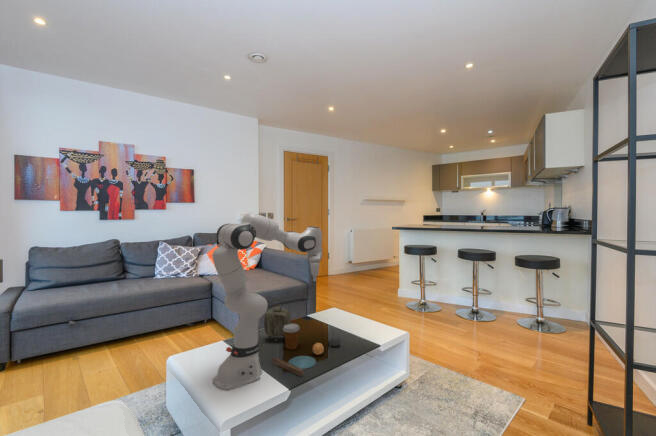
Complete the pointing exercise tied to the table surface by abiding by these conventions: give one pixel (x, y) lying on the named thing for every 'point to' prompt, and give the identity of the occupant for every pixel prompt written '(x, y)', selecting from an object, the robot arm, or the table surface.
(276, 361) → the stopper wall
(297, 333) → the disposable coffee cup
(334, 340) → the dark gray ball
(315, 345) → the orange ball
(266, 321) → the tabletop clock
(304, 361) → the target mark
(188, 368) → the table surface
